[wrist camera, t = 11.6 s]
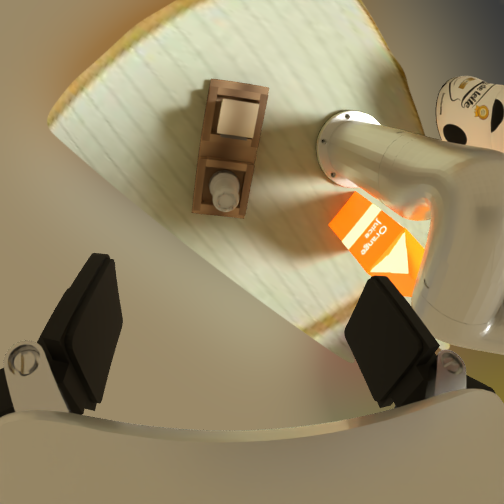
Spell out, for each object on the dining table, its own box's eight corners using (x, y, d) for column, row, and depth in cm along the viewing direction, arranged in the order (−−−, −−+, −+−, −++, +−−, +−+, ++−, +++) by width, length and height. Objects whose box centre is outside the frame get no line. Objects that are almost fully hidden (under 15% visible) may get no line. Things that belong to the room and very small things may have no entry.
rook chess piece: (231, 203, 41) (234, 224, 34) (203, 191, 39) (201, 211, 33) (244, 176, 39) (251, 193, 32) (216, 164, 38) (217, 177, 31)
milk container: (437, 58, 31) (512, 61, 16) (485, 101, 35) (549, 119, 20) (418, 137, 39) (494, 165, 24) (468, 169, 43) (530, 202, 27)
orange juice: (359, 249, 49) (416, 321, 32) (327, 225, 46) (385, 299, 29) (385, 217, 46) (454, 278, 29) (355, 189, 43) (430, 247, 26)
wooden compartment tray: (267, 88, 34) (282, 83, 26) (243, 216, 43) (250, 242, 35) (211, 79, 32) (209, 71, 25) (192, 210, 42) (186, 236, 34)
